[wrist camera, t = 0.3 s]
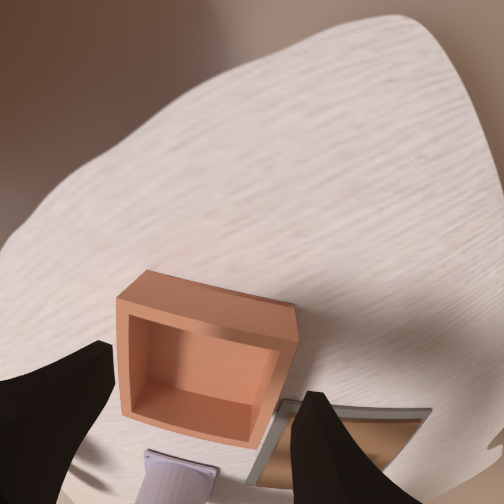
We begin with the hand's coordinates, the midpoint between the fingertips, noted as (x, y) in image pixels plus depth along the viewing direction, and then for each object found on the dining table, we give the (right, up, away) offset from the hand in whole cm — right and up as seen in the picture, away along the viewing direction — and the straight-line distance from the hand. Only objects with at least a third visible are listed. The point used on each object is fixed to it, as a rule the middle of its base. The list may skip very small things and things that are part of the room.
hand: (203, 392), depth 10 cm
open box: (-1, -2, +11) cm, 11 cm away
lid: (+10, -15, +14) cm, 23 cm away
